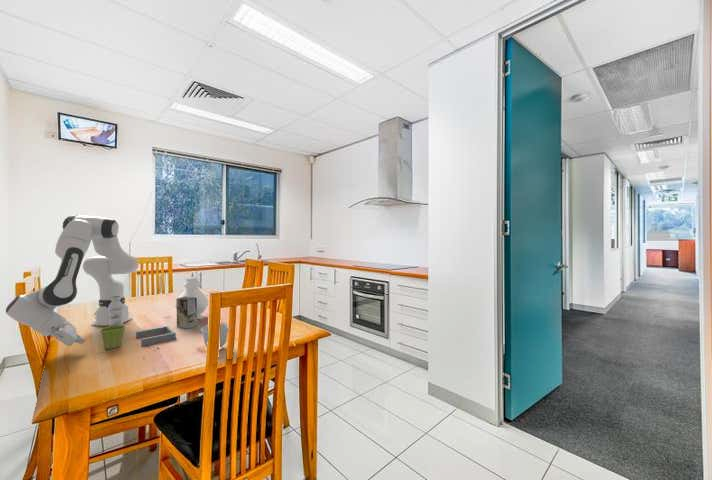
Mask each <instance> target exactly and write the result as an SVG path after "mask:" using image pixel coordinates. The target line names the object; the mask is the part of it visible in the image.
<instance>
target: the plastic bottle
mask: <svg viewBox="0 0 712 480" xmlns="http://www.w3.org/2000/svg"><path fill="white" fill-rule="evenodd" d="M120 300H121V299H120V296H113V297H111V301H112V302H111V303H110V304H109V306H108V312H109V318H110V322H109V325H108V327H109V326H116V325H124V322H123V317H122V316H123V308H124V306H123V304H122V303H121V302H120ZM124 333H125V330H124V331H123V334H124Z"/></svg>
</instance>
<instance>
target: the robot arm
mask: <svg viewBox="0 0 712 480" xmlns="http://www.w3.org/2000/svg"><path fill="white" fill-rule="evenodd" d="M119 227H120V226H119V224H118V222H117V221H116V220H115V219H114V218H110V217H102V216H96V215H75V214H73V215H69V216H67V217H66V218H65V219H64V220H63V221H62V231H61V233H60V235H59V237H58V239H57V242H56V244H55V250H54V253H55V254H56V256H57V257H58V258H60V259H61V262H60V265H59V268H58V270H57V273H56V277H55V278H54V280H53V281H51V282H50V283H49V284H48V285H46V286H44V287H42V288H40V289H37V290H34V291H32V292H29V293H25V294H20V295H18V296H16V297H14V299H13V300H11V302H9V304H8V305H7V306H6V308H5V313H6V315H7V316H8V317H10V318H12V320H14V321H15V322H18V323H20V324H21V325H22V326H23V325H24V326H28V327H30V328H31V329H32V330H33V331H35V332H36V333H38V334H40V335H41V336H44V337H46V338H47V337H49V336H51V337H53V338H55V339H56V340H58V341H59V342H60V343H62V344H64V345H65V346H67V347H68V346H69V347H71V346H73V344H74V343H76V344H79V345H80V346H83V345H84V344H85V342H86V340H85V339H84V338H83V337H82V336H80V335H79V334H78V333H77V332H78V331H77V328H76V327H75V326H74V325H73V324H72V323H70V322H69V321H68V320H67V317H65V316H63V315H61V314H60V313H58V312H56V311H55V309H56V308H58V307H60V306H65V305H67V304H70V303H71V302H73V300H75V299H76V296H77V293H78V288H77V277H78V274H79V272H80V268H81V265H82V270H83V271H84V273H85V274H87V275H89V276H91V278H93V279H94V280H95V282H96V283H97V285H98V291H99V299H98V306H99V307H98V308H97V309H95V311H94V315H93V316H95V317H94V320H93V321H92V322H91V324H90V325H91V326H92V327H93V326H102V327H103V326H105V327H107V326H109V322H110V318H109V312H108V306H109V304H110V303H111V302H112V301H111V297H113V296H120V299H121V300H120V302H121V303H122V304H123V306H124V308H123V316H122V317H123V323H126V322H129V321H132V320H133V317H132V316H129V306H128V305H127V304H126V297H125V285H124V283H123V282H121V281H119V280H117V279H115V278H114V277H112V275H113V276H114V275H127V274H128V275H129V274H132V273H135V272H136V271H137V270H138V268H139V265H140V264H139V260H138V258H136V257H135V256H133V255H131V254H129V253H127V252H126V251H125V250H124V249H123V248H122V247H121V245H120V242H119V238H118V237H119V236H118V232H119ZM91 242H92V245H93V250H94V251H95V253H96V254H98V255H95V256H89V257H87V258H86V259H85V260H84V258H85V255H86V254H87V252H88V250H89V248H90V245H91ZM83 260H84V261H83ZM82 262H83V264H82Z"/></svg>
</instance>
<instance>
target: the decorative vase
mask: <svg viewBox="0 0 712 480" xmlns="http://www.w3.org/2000/svg"><path fill="white" fill-rule="evenodd" d="M184 278H185V279H184V280H185V282H183V288H185V290H184V291H183V292H182V293H181V294H180V295H179V296H178V298H181V297H194V298H197V319H200V320H202V319H204V318H205V316H204V315H203V313H204V312H205V311H206V309H207V307H208V306H209V300H208V297H207V295H206V294H205V293H204V291H202V290H201V289H199V288H200V286H201V285H202V283H201V281H199V279H200V277H198V276H189V277H184ZM175 309H176V310H177V305H176V304H175ZM203 317H204V318H203ZM201 318H202V319H201Z"/></svg>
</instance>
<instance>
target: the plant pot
mask: <svg viewBox="0 0 712 480" xmlns="http://www.w3.org/2000/svg"><path fill="white" fill-rule="evenodd" d="M125 328H126V326H125V325H124V324H123V325H116V326H109V325H108V326H105V327H103V328H100V329H99V332H100V334H101V337H102V340H103V346H104V349H106V350H109V349H111V350H112V349H115V348H119V347H121V346H122V344H123V338H124V337H123V335H124V333H123V331H124V332H125Z"/></svg>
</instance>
